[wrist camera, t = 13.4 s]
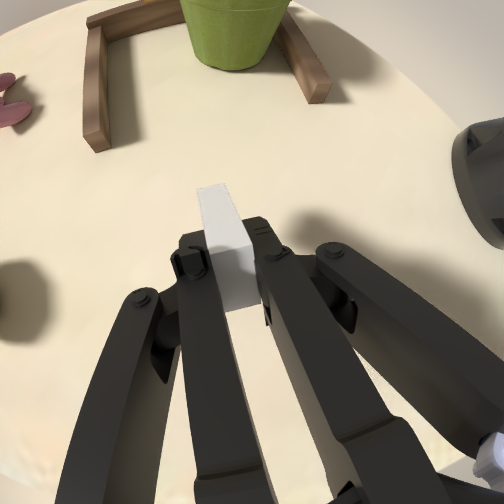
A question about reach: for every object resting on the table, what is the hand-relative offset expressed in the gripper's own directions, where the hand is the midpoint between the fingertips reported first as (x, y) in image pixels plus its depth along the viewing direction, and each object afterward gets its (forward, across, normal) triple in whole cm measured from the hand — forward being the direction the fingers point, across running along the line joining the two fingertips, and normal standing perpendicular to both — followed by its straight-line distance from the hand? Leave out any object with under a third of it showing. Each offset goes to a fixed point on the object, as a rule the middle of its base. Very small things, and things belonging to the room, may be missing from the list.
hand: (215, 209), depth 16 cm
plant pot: (+17, +5, +10) cm, 20 cm away
